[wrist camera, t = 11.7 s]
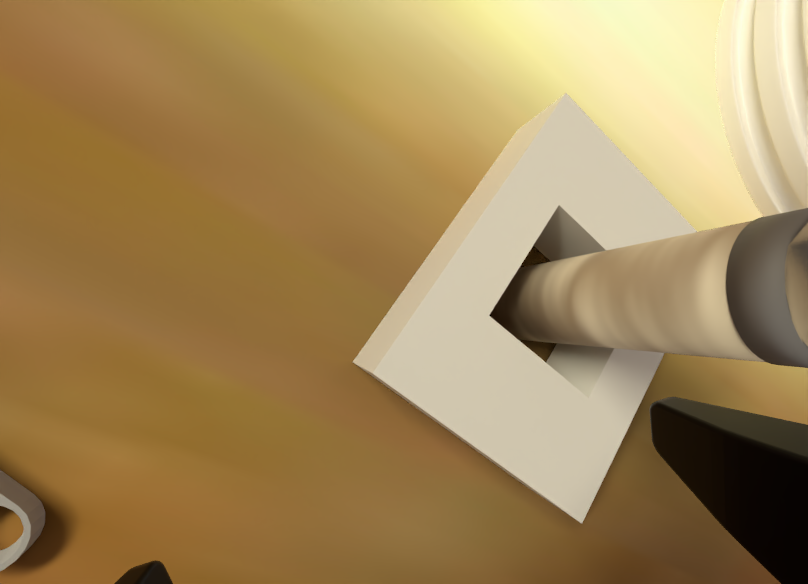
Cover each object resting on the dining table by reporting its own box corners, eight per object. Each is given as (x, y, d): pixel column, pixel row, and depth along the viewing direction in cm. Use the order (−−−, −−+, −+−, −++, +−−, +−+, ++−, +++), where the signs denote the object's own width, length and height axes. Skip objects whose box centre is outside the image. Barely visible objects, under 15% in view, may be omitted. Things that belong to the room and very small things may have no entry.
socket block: (527, 487, 21) (581, 523, 18) (352, 362, 19) (372, 373, 15) (648, 260, 25) (714, 250, 21) (516, 130, 23) (566, 92, 19)
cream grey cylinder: (545, 346, 22) (880, 383, 10) (483, 332, 21) (776, 353, 9) (556, 277, 23) (886, 231, 11) (495, 259, 22) (789, 182, 9)
